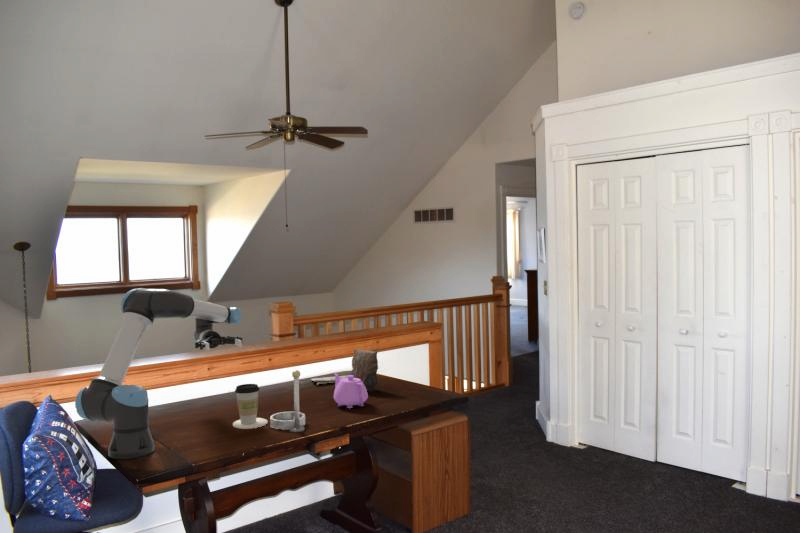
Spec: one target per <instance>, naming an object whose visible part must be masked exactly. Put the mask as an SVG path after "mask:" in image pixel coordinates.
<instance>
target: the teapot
mask: <svg viewBox="0 0 800 533" xmlns="http://www.w3.org/2000/svg"><path fill="white" fill-rule="evenodd" d="M333 375H334V376H335V377H336V383H334V387H335V388H334V391H333V399H334V400H333V401H335V403H337V407H344V406H346V409H347V408H349V409H348V410H351V409H350V408H353V409H354V406H358V407H364V406H365V405H364V403H366V401H367V400H368V398H369V394H368V393H369V392H367V389H366V387H365V385H364V384H363V382H362V381H361V380H360V379H359V378H354V376H353V375H351V374H347V375H348V376H347V378H344V379H341V380H340V377H339V376H340V375H339V374H338V373H336V372H333Z"/></svg>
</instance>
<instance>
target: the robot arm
mask: <svg viewBox="0 0 800 533" xmlns="http://www.w3.org/2000/svg"><path fill="white" fill-rule="evenodd" d="M120 306H121V307H120V310H121V313H122V314H121V316H122V318H123V322H122V324H121V326H120V329H119V331H118V333H117V335H116V337H115V340H114V342H113V343H112V346H111V347H110V351H109V352H108V354H107V357H106V359H105V361H104V363H103V365H102V368H101V370H100V372H99V374H98V376H96V377H94V378H92V380H91V381H90V383H89V384H88V386H84V387H83V388H81V389H80V390H79V391H78V392H77V394H76V398H75V404H74V406H75V409H76V412H77V415H78V416H79V417H81V418H82V419H83V420H88V421H91V422H93V421H94V422H104V423H105V422H106V423H107V422H108V423H112V436H111V440H110V442H109V446H108V450H107V451H108V452H107V453H108V454H107V455H108V457H109V458H111V459H115V460H130V459H131V460H132V459H137V458H141V457H145V456H148V455H150V454H151V453H153V452H154V451H155V441H154V439H153V437H152V433H151V431H150V426H149V396H148V390H147V389H146V388H145V387H144V386H140V385H135V384H123V382H124V380H125V377H126V375H127V373H128V370H129V368H130V367H131V363H132V361H133V359H134V357H135V355H136V352H137V349H138V348H139V345H140V342H141V341H142V339H143V336H144V334H145V331H146V330H147V328H150V327H152V325H153V323H154V321H155V319H170V318H174V319H175V318H176V319H177V318H180V319H186V318H193V319H194V320H195V330H194V332H193V338H194V340H195V342H194V348H195V349H198V348H199V350H200V351H202V350H206V351H210V349H215V348H217V347H219V346H225V345H235V346H237V347H239V348H240V347H241V348H242V344H243V337H239V336H237V337H236V336H229V335H226V336H222V335H220V333H218V332H217V331H215V330H213V328H214V327H213V324H226V325H228V324H229V325H234V324H235V325H236V324H239V323H240V322H241V320H242V316H243V314H242V310H241V309H240V308H239V307H235V306H225V305H220V304H217V303H213V302H211V301H204V300H200V299H196V298H193V297H192V296H191V295H189V294H186V293H181V292H179V291H174V290H170V289H167V288H166V289H165V288H144V287H139V288H133V289H131V290H128V291H127V292H126V293H125V294H124V295H123V297H122V299H121V301H120Z"/></svg>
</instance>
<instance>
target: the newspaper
mask: <svg viewBox="0 0 800 533" xmlns="http://www.w3.org/2000/svg"><path fill="white" fill-rule="evenodd" d="M348 375H349V374H346V375H339V377H340V380H341V379H344V378H347V376H348ZM311 381H316V382H317V383H316V386H320V385H319V384H323V385H328V384H327V383H331V384H335V383H336V377H335V375H334V376H326V377H325V376H324V377H315V378H314V377H313V378H311V379H310V382H311Z"/></svg>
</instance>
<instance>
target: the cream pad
mask: <svg viewBox="0 0 800 533" xmlns="http://www.w3.org/2000/svg"><path fill="white" fill-rule="evenodd" d="M268 423H269V422H268V419H266V418H263V417H257V418H256V422H255V423H252V424H241V421H240V419H238V420H235V421H234V422H232V427H233V428H235V429H239V430H251V429H253V428H254V429H257V428H258V427H259V428H261V427H262V426H263V427H264V426H266V424H267V425H268Z"/></svg>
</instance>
